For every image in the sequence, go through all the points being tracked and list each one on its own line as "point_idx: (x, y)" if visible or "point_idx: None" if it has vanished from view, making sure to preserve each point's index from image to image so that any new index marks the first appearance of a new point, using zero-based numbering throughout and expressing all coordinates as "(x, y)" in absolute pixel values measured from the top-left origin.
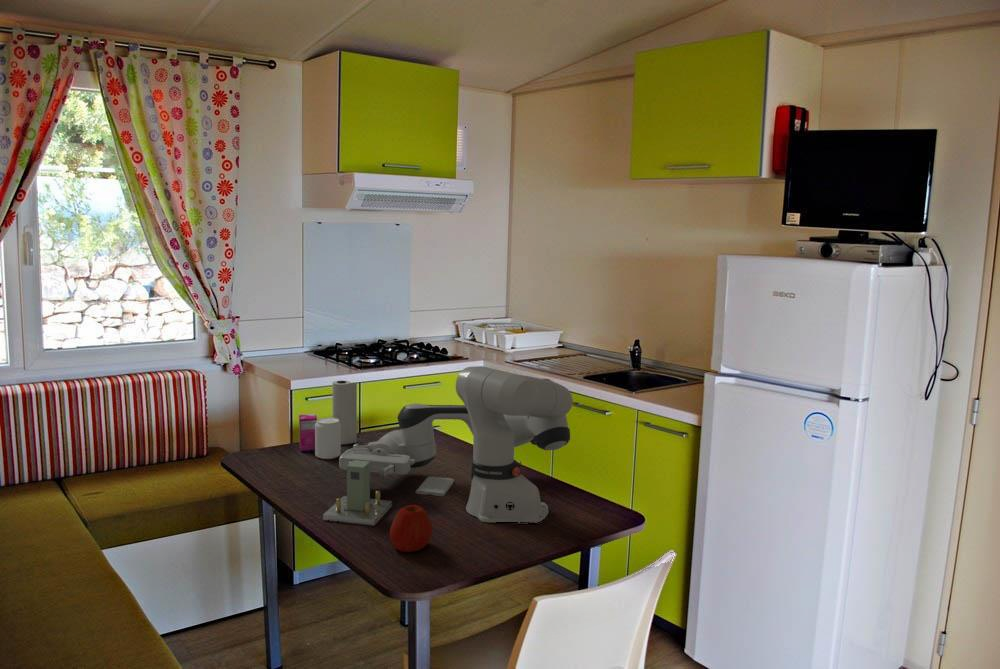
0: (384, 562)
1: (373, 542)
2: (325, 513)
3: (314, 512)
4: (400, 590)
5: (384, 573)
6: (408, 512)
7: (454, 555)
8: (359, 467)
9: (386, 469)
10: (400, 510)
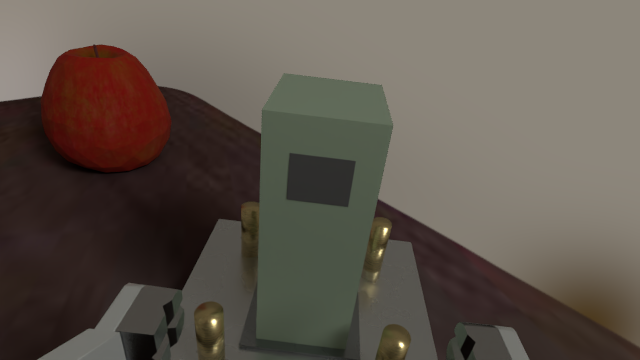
0: (188, 124)
1: (215, 168)
2: (408, 249)
3: (482, 311)
4: (166, 87)
5: (189, 107)
6: (114, 47)
7: (17, 135)
8: (306, 78)
9: (112, 305)
10: (133, 56)
